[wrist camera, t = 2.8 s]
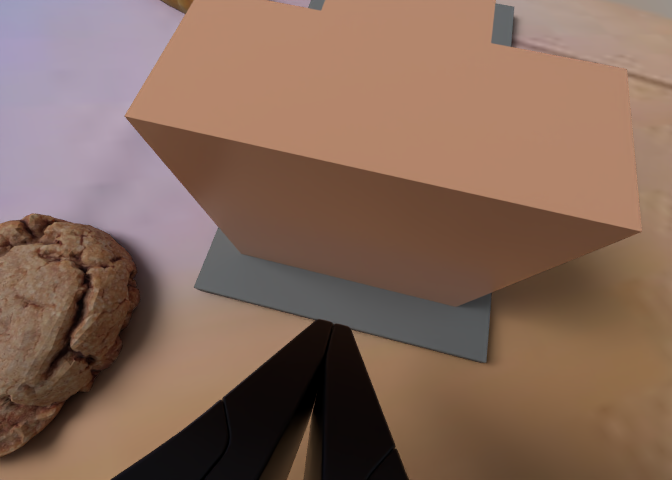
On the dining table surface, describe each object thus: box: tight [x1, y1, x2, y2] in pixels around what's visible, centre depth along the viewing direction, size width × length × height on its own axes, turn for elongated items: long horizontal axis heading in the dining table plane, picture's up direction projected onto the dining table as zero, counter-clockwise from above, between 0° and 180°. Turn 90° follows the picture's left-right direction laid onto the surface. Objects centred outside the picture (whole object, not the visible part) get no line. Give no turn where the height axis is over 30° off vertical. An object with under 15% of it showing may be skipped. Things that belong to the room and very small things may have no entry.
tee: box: [125, 0, 642, 307], centre depth 12 cm, size 12×10×9 cm
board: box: [194, 0, 514, 363], centre depth 18 cm, size 22×13×1 cm, turn 166°
